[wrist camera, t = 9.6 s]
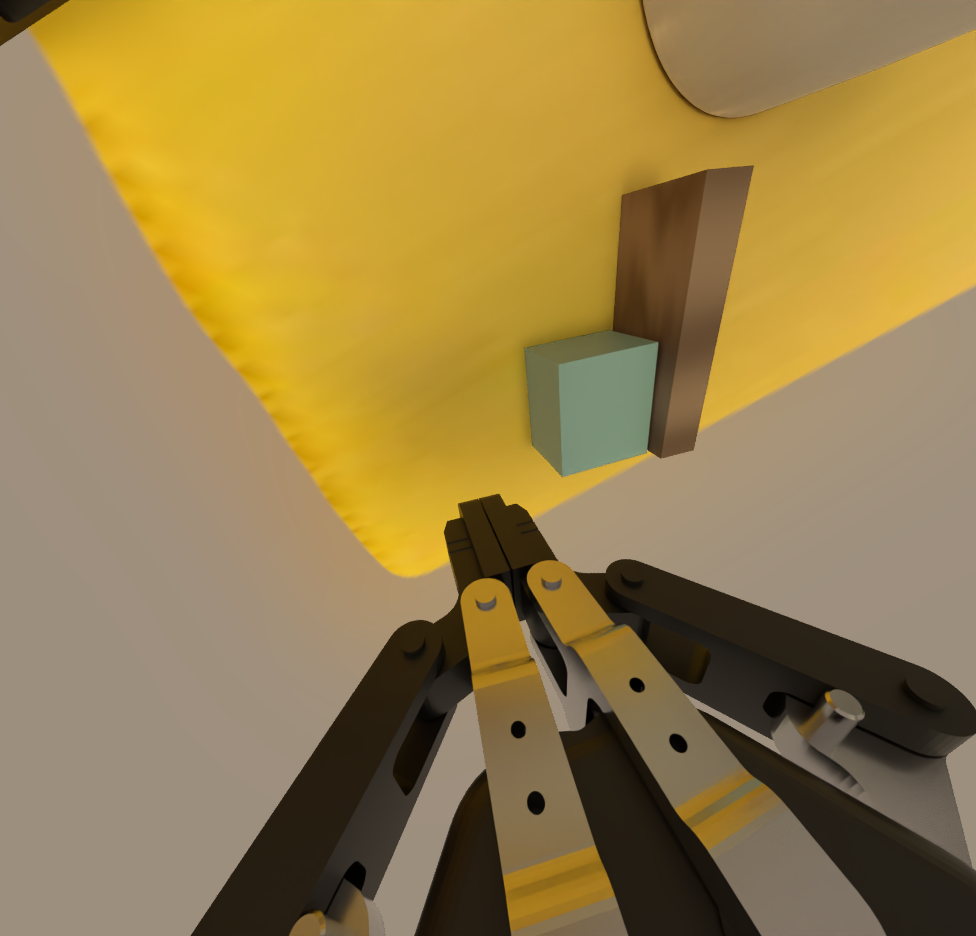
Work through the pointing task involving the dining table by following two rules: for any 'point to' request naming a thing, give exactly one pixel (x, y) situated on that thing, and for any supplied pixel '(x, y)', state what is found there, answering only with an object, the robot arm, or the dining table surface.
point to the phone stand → (23, 15)
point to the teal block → (590, 399)
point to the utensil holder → (789, 44)
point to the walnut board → (679, 288)
